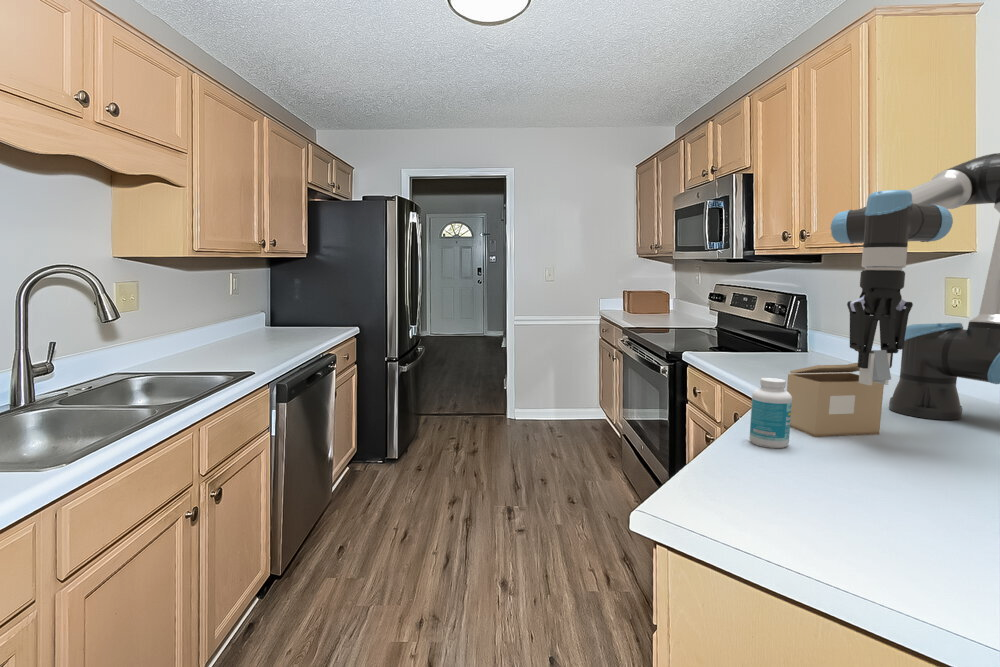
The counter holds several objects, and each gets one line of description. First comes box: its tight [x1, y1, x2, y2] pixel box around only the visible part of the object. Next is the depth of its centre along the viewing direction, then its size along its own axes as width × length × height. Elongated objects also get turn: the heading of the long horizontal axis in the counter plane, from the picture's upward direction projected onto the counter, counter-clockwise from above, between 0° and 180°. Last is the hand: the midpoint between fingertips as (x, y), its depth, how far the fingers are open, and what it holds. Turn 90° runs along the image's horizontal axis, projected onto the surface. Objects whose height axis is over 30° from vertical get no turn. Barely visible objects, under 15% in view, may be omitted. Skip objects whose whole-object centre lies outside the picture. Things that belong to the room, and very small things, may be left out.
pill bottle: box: [749, 377, 792, 449], centre depth 119 cm, size 8×7×14 cm
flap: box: [789, 349, 892, 381], centre depth 125 cm, size 16×18×6 cm
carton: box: [786, 372, 885, 438], centre depth 130 cm, size 16×10×12 cm, turn 100°
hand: (873, 383), depth 119 cm, fingers closed on flap, 3 cm apart
